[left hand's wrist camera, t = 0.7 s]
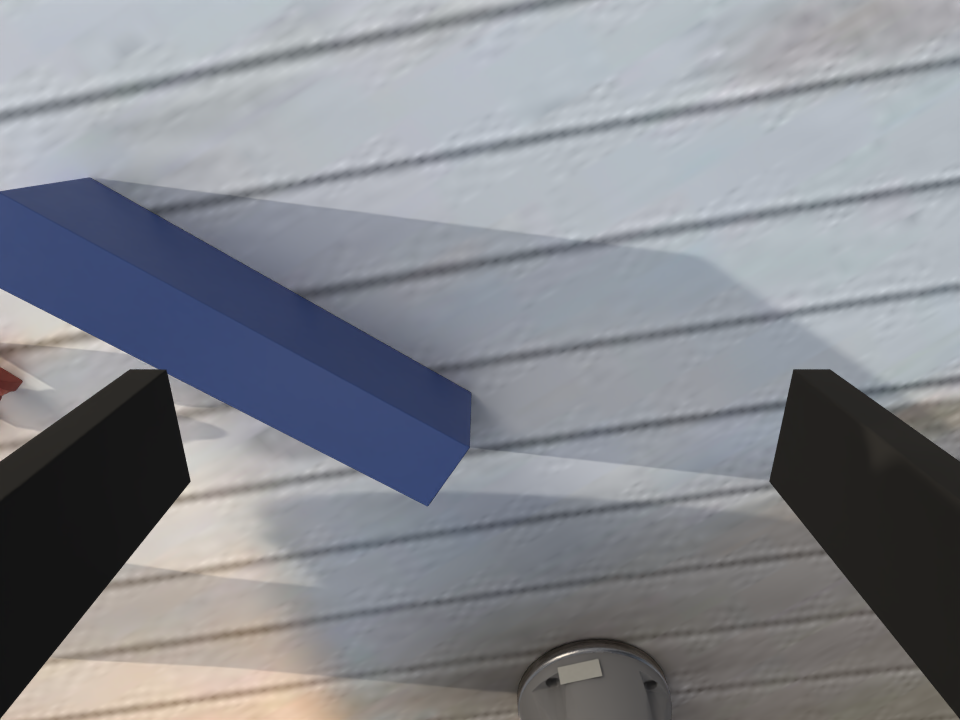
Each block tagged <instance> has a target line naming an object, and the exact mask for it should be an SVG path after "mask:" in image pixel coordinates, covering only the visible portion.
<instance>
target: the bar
mask: <svg viewBox="0 0 960 720" xmlns="http://www.w3.org/2000/svg"><path fill="white" fill-rule="evenodd" d="M0 288H1V289H3V290H5V291H7V292H8V293H10V294H12V295H14V296H16V297H18V298H20V299H22V300H24V301H26V302H28V303H30V304H32V305H34V306H36V307H38V308H40V309H42V310H44V311H46V312H48V313H50V314H52V315H54V316H56V317H57V318H59V319H61V320H63V321H65V322H67V323H69V324H71V325H73V326H75V327H77V328H79V329H81V330H83V331H85V332H87V333H89V334H91V335H93V336H95V337H97V338H99V339H101V340H103V341H105V342H106V343H108V344H110V345H112V346H114V347H116V348H118V349H120V350H122V351H124V352H126V353H128V354H130V355H132V356H134V357H136V358H138V359H140V360H142V361H144V362H146V363H148V364H150V365H152V366H153V367H155V368H157V369H167V374H169V375H171V376H173V377H175V378H177V379H179V380H181V381H183V382H185V383H187V384H189V385H191V386H193V387H195V388H197V389H199V390H201V391H202V392H204V393H206V394H208V395H210V396H212V397H214V398H216V399H218V400H220V401H222V402H224V403H226V404H228V405H230V406H232V407H234V408H236V409H238V410H240V411H242V412H244V413H246V414H248V415H250V416H251V417H253V418H255V419H257V420H259V421H261V422H263V423H265V424H267V425H269V426H271V427H273V428H275V429H277V430H279V431H281V432H283V433H285V434H287V435H289V436H291V437H293V438H295V439H297V440H298V441H300V442H302V443H304V444H306V445H308V446H310V447H312V448H314V449H316V450H318V451H320V452H322V453H324V454H326V455H328V456H330V457H332V458H334V459H336V460H338V461H340V462H342V463H344V464H346V465H347V466H349V467H351V468H353V469H355V470H357V471H359V472H361V473H363V474H365V475H367V476H369V477H371V478H373V479H375V480H377V481H379V482H381V483H383V484H385V485H387V486H389V487H391V488H393V489H395V490H396V491H398V492H400V493H402V494H404V495H406V496H408V497H410V498H412V499H414V500H416V501H418V502H420V503H422V504H424V505H426V506H429V504H430V503H431V501H432V500H433V499H434V497H435V496H436V494H437V493H438V491H439V490H440V489H441V487H442V486H443V484H444V483H445V482H446V480H447V479H448V477H449V476H450V475H451V473H452V472H453V470H454V469H455V468H456V466H457V465H458V463H459V462H460V461H461V459H462V458H463V456H464V455H465V454H466V452H467V451H468V449H469V448H470V421H471V392H469V391H467V390H465V389H464V388H462V387H460V386H458V385H457V384H455V383H453V382H451V381H450V380H448V379H446V378H444V377H442V376H441V375H439V374H437V373H435V372H434V371H432V370H430V369H428V368H427V367H425V366H423V365H421V364H419V363H418V362H416V361H414V360H412V359H411V358H409V357H407V356H405V355H403V354H402V353H400V352H398V351H396V350H395V349H393V348H391V347H389V346H388V345H386V344H384V343H382V342H380V341H379V340H377V339H375V338H373V337H372V336H370V335H368V334H366V333H365V332H363V331H361V330H359V329H357V328H356V327H354V326H352V325H350V324H349V323H347V322H345V321H343V320H341V319H340V318H338V317H336V316H334V315H333V314H331V313H329V312H327V311H326V310H324V309H322V308H320V307H318V306H317V305H315V304H313V303H311V302H310V301H308V300H306V299H304V298H303V297H301V296H299V295H297V294H295V293H294V292H292V291H290V290H288V289H287V288H285V287H283V286H281V285H280V284H278V283H276V282H274V281H272V280H271V279H269V278H267V277H265V276H264V275H262V274H260V273H258V272H256V271H255V270H253V269H251V268H249V267H248V266H246V265H244V264H242V263H241V262H239V261H237V260H235V259H233V258H232V257H230V256H228V255H226V254H225V253H223V252H221V251H219V250H218V249H216V248H214V247H212V246H210V245H209V244H207V243H205V242H203V241H202V240H200V239H198V238H196V237H194V236H193V235H191V234H189V233H187V232H186V231H184V230H182V229H180V228H179V227H177V226H175V225H173V224H171V223H170V222H168V221H166V220H164V219H163V218H161V217H159V216H157V215H156V214H154V213H152V212H150V211H148V210H147V209H145V208H143V207H141V206H140V205H138V204H136V203H134V202H132V201H131V200H129V199H127V198H125V197H124V196H122V195H120V194H118V193H117V192H115V191H113V190H111V189H109V188H108V187H106V186H104V185H102V184H101V183H99V182H97V181H95V180H94V179H92V178H83V179H77V180H70V181H64V182H57V183H51V184H44V185H38V186H31V187H25V188H18V189H12V190H5V191H0Z"/></svg>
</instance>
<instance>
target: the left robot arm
mask: <svg viewBox="0 0 960 720" xmlns="http://www.w3.org/2000/svg"><path fill="white" fill-rule="evenodd" d="M190 482H191V481H190V476H189V472H188V467H187V462H186V458H185V453H184V448H183V444H182V439H181V434H180V430H179V425H178V420H177V416H176V411H175V407H174V402H173V397H172V393H171V388H170V383H169V379H168V374H167V369H130V370H129V371H127V372H126V373H124V374H123V375H122V376H120V377H119V378H117V379H116V380H114V381H113V382H112V383H110V384H109V385H107V386H106V387H105V388H103V389H102V390H100V391H99V392H98V393H96V394H95V395H93V396H92V397H91V398H89V399H88V400H86V401H85V402H84V403H82V404H81V405H79V406H78V407H76V408H75V409H74V410H72V411H71V412H69V413H68V414H67V415H65V416H64V417H62V418H61V419H60V420H58V421H57V422H55V423H54V424H53V425H51V426H50V427H48V428H47V429H46V430H44V431H43V432H41V433H40V434H38V435H37V436H36V437H34V438H33V439H31V440H30V441H29V442H27V443H26V444H24V445H23V446H22V447H20V448H19V449H17V450H16V451H15V452H13V453H12V454H10V455H9V456H8V457H6V458H5V459H3V460H2V461H1V462H0V719H1V717H2V716H3V715H4V714H5V712H6V711H7V710H8V709H9V707H10V706H11V705H12V704H13V702H14V701H15V700H16V699H17V697H18V696H19V695H20V694H21V692H22V691H23V690H24V689H25V687H26V686H27V685H28V684H29V682H30V681H31V680H32V679H33V677H34V676H35V675H36V674H37V672H38V671H39V670H40V669H41V667H42V666H43V665H44V664H45V662H46V661H47V660H48V659H49V657H50V656H51V655H52V654H53V652H54V651H55V650H56V649H57V647H58V646H59V645H60V644H61V642H62V641H63V640H64V639H65V637H66V636H67V635H68V634H69V632H70V631H71V630H72V629H73V628H74V626H75V625H76V624H77V623H78V621H79V620H80V619H81V618H82V616H83V615H84V614H85V613H86V611H87V610H88V609H89V608H90V606H91V605H92V604H93V603H94V601H95V600H96V599H97V598H98V596H99V595H100V594H101V593H102V591H103V590H104V589H105V588H106V586H107V585H108V584H109V583H110V581H111V580H112V579H113V578H114V576H115V575H116V574H117V573H118V571H119V570H120V569H121V568H122V566H123V565H124V564H125V563H126V561H127V560H128V559H129V558H130V556H131V555H132V554H133V553H134V551H135V550H136V549H137V548H138V546H139V545H140V544H141V543H142V541H143V540H144V539H145V538H146V536H147V535H148V534H149V533H150V532H151V530H152V529H153V528H154V527H155V525H156V524H157V523H158V522H159V520H160V519H161V518H162V517H163V515H164V514H165V513H166V512H167V510H168V509H169V508H170V507H171V505H172V504H173V503H174V502H175V500H176V499H177V498H178V497H179V495H180V494H181V493H182V492H183V490H184V489H185V488H186V487H187V485H188V484H189V483H190ZM769 482H770V483H771V484H772V485H773V487H774V488H775V489H776V490H777V492H778V493H779V494H780V495H781V497H782V498H783V499H784V500H785V502H786V503H787V504H788V505H789V507H790V508H791V509H792V510H793V512H794V513H795V514H796V515H797V517H798V518H799V519H800V520H801V522H802V523H803V524H804V525H805V527H806V528H807V529H808V530H809V532H810V533H811V534H812V535H813V536H814V538H815V539H816V540H817V541H818V543H819V544H820V545H821V546H822V548H823V549H824V550H825V551H826V553H827V554H828V555H829V556H830V558H831V559H832V560H833V561H834V563H835V564H836V565H837V566H838V568H839V569H840V570H841V571H842V573H843V574H844V575H845V576H846V578H847V579H848V580H849V581H850V583H851V584H852V585H853V586H854V588H855V589H856V590H857V591H858V593H859V594H860V595H861V596H862V598H863V599H864V600H865V601H866V603H867V604H868V605H869V606H870V608H871V609H872V610H873V611H874V613H875V614H876V615H877V616H878V618H879V619H880V620H881V621H882V623H883V624H884V625H885V626H886V628H887V629H888V630H889V631H890V632H891V634H892V635H893V636H894V637H895V639H896V640H897V641H898V642H899V644H900V645H901V646H902V647H903V649H904V650H905V651H906V652H907V654H908V655H909V656H910V657H911V659H912V660H913V661H914V662H915V664H916V665H917V666H918V667H919V669H920V670H921V671H922V672H923V674H924V675H925V676H926V677H927V679H928V680H929V681H930V682H931V684H932V685H933V686H934V687H935V689H936V690H937V691H938V692H939V694H940V695H941V696H942V697H943V699H944V700H945V701H946V702H947V704H948V705H949V706H950V707H951V709H952V710H953V711H954V712H955V714H956V715H957V716H958V717H959V719H960V462H959V461H958V460H957V459H955V458H954V457H952V456H951V455H950V454H948V453H947V452H945V451H944V450H943V449H941V448H940V447H938V446H937V445H936V444H934V443H933V442H931V441H930V440H929V439H927V438H926V437H924V436H923V435H922V434H920V433H919V432H917V431H916V430H914V429H913V428H912V427H910V426H909V425H907V424H906V423H905V422H903V421H902V420H900V419H899V418H898V417H896V416H895V415H893V414H892V413H891V412H889V411H888V410H886V409H885V408H884V407H882V406H881V405H879V404H878V403H876V402H875V401H874V400H872V399H871V398H869V397H868V396H867V395H865V394H864V393H862V392H861V391H860V390H858V389H857V388H855V387H854V386H853V385H851V384H850V383H848V382H847V381H846V380H844V379H843V378H841V377H840V376H838V375H837V374H836V373H834V372H833V371H831V370H830V369H793V374H792V379H791V383H790V388H789V393H788V397H787V402H786V407H785V411H784V416H783V420H782V425H781V430H780V434H779V439H778V444H777V448H776V453H775V458H774V462H773V467H772V472H771V476H770V481H769ZM517 701H518V714H519V719H520V720H671V719H672V705H671V697H670V692H669V688H668V685H667V682H666V679H665V676H664V674H663V672H662V670H661V668H660V667H659V665H658V664H657V663H656V662H655V661H654V660H653V659H652V658H651V657H650V656H649V655H647V654H646V653H644V652H643V651H641V650H639V649H637V648H635V647H633V646H630V645H628V644H624V643H621V642H616V641H609V640H585V641H578V642H574V643H570V644H566V645H563V646H560V647H558V648H556V649H553V650H551V651H549V652H548V653H546V654H544V655H543V656H541V657H540V658H539V659H537V660H536V661H535V662H534V663H533V664H532V665H531V666H530V667H529V668H528V669H527V671H526V672H525V674H524V675H523V677H522V679H521V681H520V684H519V687H518V693H517Z"/></svg>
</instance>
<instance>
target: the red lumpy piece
mask: <svg viewBox="0 0 960 720" xmlns="http://www.w3.org/2000/svg"><path fill="white" fill-rule="evenodd" d="M22 382H23V381H22V380H21V379H19V378H17V377H16V376H14V375H12V374H11V373H9V372H7V371H6V370H4V369H2V368H1V367H0V400H1V398H2V396H3V395H4V394H7V393H8V392H11V391H16V390H17V388H18V387H19V386H20V384H21V383H22Z"/></svg>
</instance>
